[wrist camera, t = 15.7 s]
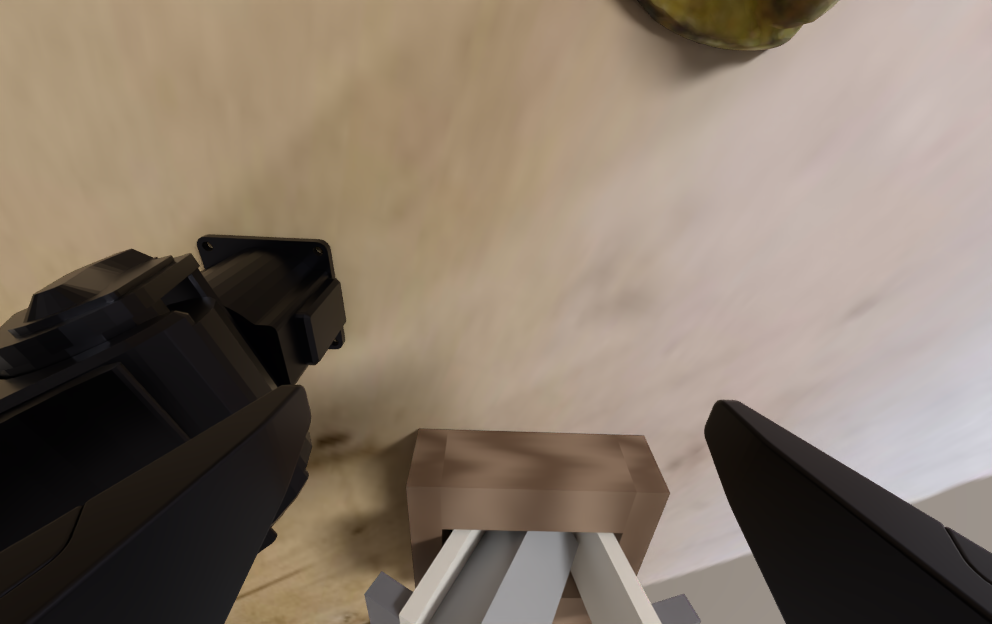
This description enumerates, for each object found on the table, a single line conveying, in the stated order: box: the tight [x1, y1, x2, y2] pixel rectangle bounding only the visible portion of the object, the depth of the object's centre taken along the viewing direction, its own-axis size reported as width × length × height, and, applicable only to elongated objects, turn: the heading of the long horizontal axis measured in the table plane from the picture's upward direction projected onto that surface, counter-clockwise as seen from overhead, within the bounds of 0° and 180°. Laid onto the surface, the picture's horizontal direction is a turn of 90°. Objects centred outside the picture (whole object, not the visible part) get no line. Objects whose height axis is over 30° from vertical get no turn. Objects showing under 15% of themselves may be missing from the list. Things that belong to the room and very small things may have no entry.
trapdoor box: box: [406, 429, 670, 624], centre depth 29 cm, size 16×16×4 cm
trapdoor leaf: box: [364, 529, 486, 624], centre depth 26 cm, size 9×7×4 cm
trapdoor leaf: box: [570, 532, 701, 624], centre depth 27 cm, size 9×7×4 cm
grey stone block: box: [428, 530, 579, 624], centre depth 24 cm, size 4×4×12 cm
